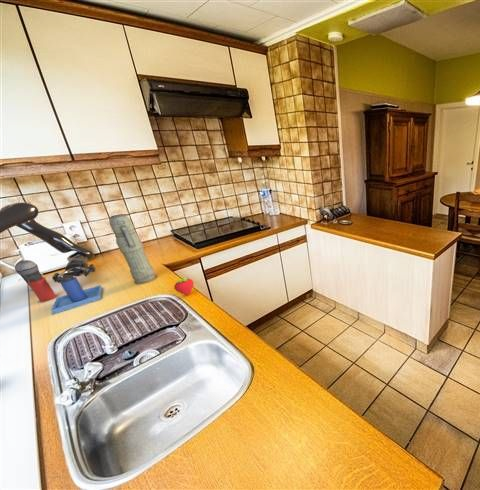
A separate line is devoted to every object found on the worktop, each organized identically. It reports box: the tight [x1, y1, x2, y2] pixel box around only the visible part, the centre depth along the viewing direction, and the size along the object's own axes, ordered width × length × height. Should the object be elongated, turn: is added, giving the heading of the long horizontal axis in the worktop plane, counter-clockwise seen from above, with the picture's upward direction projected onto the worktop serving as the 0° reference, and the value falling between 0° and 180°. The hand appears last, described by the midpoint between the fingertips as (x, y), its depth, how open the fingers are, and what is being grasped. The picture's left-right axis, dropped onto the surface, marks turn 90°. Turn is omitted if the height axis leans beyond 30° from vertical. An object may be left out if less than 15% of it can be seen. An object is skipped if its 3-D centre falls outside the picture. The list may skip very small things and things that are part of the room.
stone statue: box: [108, 213, 157, 285], centre depth 132 cm, size 9×12×35 cm
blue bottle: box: [59, 275, 87, 303], centre depth 121 cm, size 5×5×12 cm
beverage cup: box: [14, 251, 42, 287], centre depth 133 cm, size 7×7×20 cm
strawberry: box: [173, 276, 194, 296], centre depth 121 cm, size 6×8×10 cm
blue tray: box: [51, 285, 103, 315], centre depth 123 cm, size 15×13×2 cm
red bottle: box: [27, 274, 57, 303], centre depth 124 cm, size 5×5×12 cm
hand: (72, 277), depth 126 cm, fingers open, 8 cm apart
